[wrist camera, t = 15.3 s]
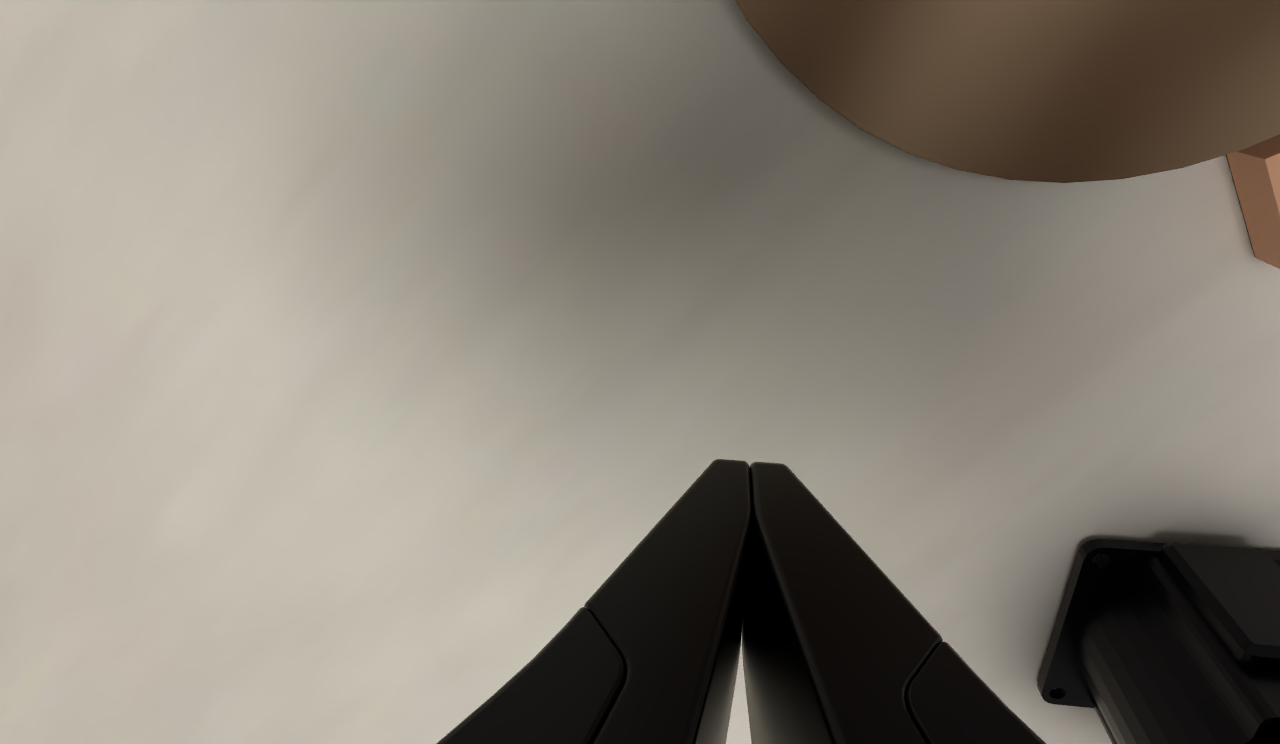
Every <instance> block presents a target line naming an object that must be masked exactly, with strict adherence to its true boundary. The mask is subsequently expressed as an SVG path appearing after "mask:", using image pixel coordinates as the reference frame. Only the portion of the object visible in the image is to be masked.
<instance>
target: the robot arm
mask: <svg viewBox="0 0 1280 744" xmlns="http://www.w3.org/2000/svg"><path fill="white" fill-rule="evenodd" d="M1100 554H1104V555H1103V556H1102V557H1101V558H1099V559H1094V557H1096V556H1097V555H1100ZM741 634H742V654H743V667H744V677H745V686H746V695H747V704H748V714H749V723H750V732H751V742H752V744H1046V743H1045V742H1044V741H1043V740H1042V739H1041V738H1040V737H1038V736H1037V735H1036V734H1035V733H1034V732H1033V731H1032V730H1031V729H1030V728H1029V727H1028V726H1027V725H1026V724H1025V723H1024V722H1023V721H1022V720H1021V719H1020V718H1019V717H1017V716H1016V715H1015V714H1014V713H1013V712H1012V711H1011V710H1010V709H1009V708H1008V707H1007V706H1006V705H1005V704H1004V703H1003V702H1002V701H1001V700H1000V698H999V697H998V696H997V695H996V694H995V693H994V692H993V691H992V690H991V689H990V688H989V687H988V686H987V685H986V684H985V683H984V682H983V681H982V680H981V679H980V678H979V677H978V676H977V674H976V673H975V672H974V671H973V670H972V669H971V668H970V667H969V666H968V665H967V664H966V663H965V662H964V660H963V659H962V658H961V657H960V656H959V655H958V654H957V653H956V652H955V651H954V649H953V648H952V647H951V646H950V645H949V644H948V643H947V642H942V637H941V636H940V634H939V633H938V632H937V631H936V630H935V629H934V628H933V627H932V626H931V625H930V623H929V622H928V621H927V620H926V619H925V618H924V617H923V616H922V615H921V614H920V612H919V611H918V610H917V609H916V608H915V607H914V606H913V605H912V604H911V602H910V601H909V600H908V599H907V598H906V597H905V596H904V595H903V594H902V593H901V591H900V590H899V589H898V588H897V587H896V586H895V585H894V584H893V583H892V582H891V580H890V579H889V578H888V577H887V576H886V575H885V574H884V573H883V572H882V570H881V569H880V568H879V567H878V566H877V565H876V564H875V563H874V562H873V561H872V559H871V558H870V557H869V556H868V555H867V554H866V553H865V552H864V551H863V550H862V548H861V547H860V546H859V545H858V544H857V543H856V542H855V541H854V540H853V538H852V537H851V536H850V535H849V534H848V533H847V532H846V531H845V530H844V529H843V527H842V526H841V525H840V524H839V523H838V522H837V521H836V520H835V519H834V518H833V516H832V515H831V514H830V513H829V512H828V511H827V510H826V509H825V508H824V507H823V505H822V504H821V503H820V502H819V501H818V500H817V499H816V498H815V497H814V495H813V494H812V493H811V492H810V491H809V490H808V489H807V488H806V487H805V486H804V484H803V483H802V482H801V481H800V480H799V479H798V478H797V477H796V476H795V475H794V473H793V472H792V471H791V470H790V469H789V468H788V467H787V466H786V465H784V464H779V463H765V462H754V463H752V464H751V466H750V468H749V465H748V463H747V462H745V461H737V460H723V459H717V460H715V461H713V462H712V463H711V464H710V466H709V467H708V468H707V469H706V470H705V471H704V472H703V473H702V474H701V476H700V477H699V478H698V479H697V480H696V481H695V482H694V483H693V484H692V486H691V487H690V488H689V489H688V490H687V491H686V492H685V493H684V494H683V496H682V497H681V498H680V499H679V500H678V501H677V502H676V503H675V504H674V506H673V507H672V508H671V509H670V510H669V511H668V512H667V513H666V514H665V516H664V517H663V518H662V519H661V520H660V521H659V522H658V523H657V524H656V526H655V527H654V528H653V529H652V530H651V531H650V532H649V533H648V534H647V536H646V537H645V538H644V539H643V540H642V541H641V542H640V543H639V544H638V546H637V547H636V548H635V549H634V550H633V551H632V552H631V553H630V554H629V556H628V557H627V558H626V559H625V560H624V561H623V562H622V563H621V564H620V566H619V567H618V568H617V569H616V570H615V571H614V572H613V573H612V574H611V576H610V577H609V578H608V579H607V580H606V581H605V582H604V583H603V584H602V586H601V587H600V588H599V589H598V590H597V591H596V592H595V593H594V594H593V596H592V597H591V598H590V599H589V600H588V601H587V602H586V603H585V606H584V607H582V608H580V609H579V611H578V612H577V613H576V614H575V615H574V616H573V617H572V618H571V620H570V621H569V622H568V623H567V624H566V625H565V626H564V627H563V628H562V630H561V631H560V632H559V633H558V634H557V635H556V636H555V637H554V638H553V639H552V640H551V641H550V642H549V643H548V644H547V645H546V646H545V647H544V648H543V649H542V650H541V651H540V652H539V653H538V654H537V655H536V656H535V657H534V658H533V659H532V660H531V661H530V662H529V663H528V664H527V665H526V666H525V667H524V668H523V669H521V670H520V671H519V672H518V673H517V674H516V675H515V676H514V677H513V678H511V679H510V680H509V681H508V682H507V683H506V684H505V685H504V686H503V687H502V688H500V689H499V690H498V691H497V692H496V693H495V694H494V695H493V696H492V697H490V698H489V699H488V700H487V701H486V702H485V703H483V704H482V705H481V706H480V707H479V708H478V709H476V710H475V711H474V712H473V713H472V714H471V715H469V716H468V717H467V718H466V719H465V720H464V721H462V722H461V723H460V724H459V725H458V726H457V727H455V728H454V729H453V730H452V731H451V732H450V733H448V734H447V735H446V736H445V737H444V738H443V739H441V740H440V741H439V742H438V743H437V744H726V738H727V732H728V726H729V719H730V713H731V707H732V701H733V694H734V688H735V682H736V676H737V669H738V662H739V654H740V646H741ZM1037 687H1038V689H1039V691H1040V693H1041V696H1042V697H1043V699H1044V700H1045V701H1046V702H1048V703H1052V704H1058V705H1068V706H1079V707H1089V708H1095V710H1096V712H1097V714H1098V716H1099V718H1100V720H1101V722H1102V724H1103V726H1104V727H1105V729H1106V731H1107V733H1108V735H1109V737H1110V739H1111V741H1112V743H1113V744H1280V552H1278V551H1264V550H1261V549H1250V548H1236V547H1221V546H1207V545H1193V544H1179V543H1173V544H1165V543H1150V542H1136V541H1122V540H1108V539H1093V540H1090V541H1088V542H1086V543H1085V544H1083V545H1082V546H1081V547H1080V549H1079V551H1078V554H1077V557H1076V560H1075V563H1074V567H1073V570H1072V573H1071V576H1070V579H1069V583H1068V586H1067V589H1066V592H1065V595H1064V599H1063V602H1062V605H1061V608H1060V611H1059V615H1058V618H1057V621H1056V624H1055V627H1054V631H1053V634H1052V637H1051V640H1050V643H1049V647H1048V650H1047V653H1046V656H1045V660H1044V663H1043V666H1042V669H1041V672H1040V676H1039V679H1038V682H1037ZM1054 688H1056V689H1054Z"/></svg>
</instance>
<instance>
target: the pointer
mask: <svg viewBox="0 0 1280 744" xmlns="http://www.w3.org/2000/svg"><path fill="white" fill-rule="evenodd" d="M1226 155H1227V158H1228V162H1229V165H1230V169H1231V172H1232V176H1233V179H1234V183H1235V187H1236V190H1237V194H1238V197H1239V201H1240V204H1241V208H1242V211H1243V215H1244V219H1245V222H1246V226H1247V229H1248V233H1249V236H1250V240H1251V244H1252V247H1253V251H1254V254H1255V258H1258V259H1260V260H1262V261H1264V262H1266V263H1268V264H1270V265H1273V266H1275V267H1277V268H1279V269H1280V134H1279V135H1277V136H1274V137H1272V138H1270V139H1267V140H1265V141H1262V142H1260V143H1258V144H1255V145H1253V146H1250V147H1248V148H1245V149H1243V150H1240V151H1236V152H1233V153H1230V154H1226Z"/></svg>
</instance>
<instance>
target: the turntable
mask: <svg viewBox="0 0 1280 744" xmlns="http://www.w3.org/2000/svg"><path fill="white" fill-rule="evenodd" d="M735 1H736V2H737V4H738V6H739V7H740V9H741V11H742V12H743V14H744V16H745V17H746V19H747V20H748V22H749V23H750V24H751V25H752V27H753V28H754V29H755V30H756V32H757V33H758V34H759V35H760V37H761V38H762V39H763V41H764V42H765V43H766V44H767V46H768V47H769V48H770V49H771V51H772V52H773V53H774V54H775V56H776V57H777V58H778V59H779V61H780V62H781V63H782V64H783V65H784V66H785V67H786V68H787V69H788V70H789V71H791V72H792V73H793V74H794V75H795V76H796V77H797V78H798V79H799V80H800V81H801V82H802V83H803V84H804V85H805V86H806V87H807V88H808V89H809V90H811V91H812V92H813V93H814V94H815V95H816V96H817V97H818V98H819V99H820V100H821V101H823V102H824V103H826V104H827V105H829V106H830V107H831V108H833V109H834V110H836V111H837V112H838V113H840V114H841V115H843V116H844V117H845V118H847V119H848V120H850V121H851V122H853V123H854V124H855V125H857V126H858V127H860V128H861V129H862V130H864V131H866V132H868V133H870V134H872V135H874V136H876V137H878V138H880V139H882V140H884V141H886V142H888V143H890V144H892V145H894V146H896V147H898V148H900V149H902V150H904V151H906V152H908V153H910V154H913V155H916V156H919V157H922V158H925V159H928V160H931V161H934V162H937V163H940V164H942V165H945V166H948V167H951V168H954V169H957V170H962V171H967V172H973V173H978V174H983V175H988V176H993V177H999V178H1004V179H1009V180H1025V181H1042V182H1059V183H1069V182H1084V181H1099V180H1114V179H1124V178H1130V177H1135V176H1141V175H1146V174H1152V173H1157V172H1162V171H1168V170H1173V169H1179V168H1183V167H1186V166H1190V165H1193V164H1196V163H1200V162H1203V161H1206V160H1210V159H1213V158H1216V157H1220V156H1223V155H1226V154H1230V153H1233V152H1236V151H1240V150H1243V149H1245V148H1248V147H1250V146H1253V145H1255V144H1258V143H1260V142H1262V141H1265V140H1267V139H1270V138H1272V137H1274V136H1277V135H1279V134H1280V0H735Z"/></svg>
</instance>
